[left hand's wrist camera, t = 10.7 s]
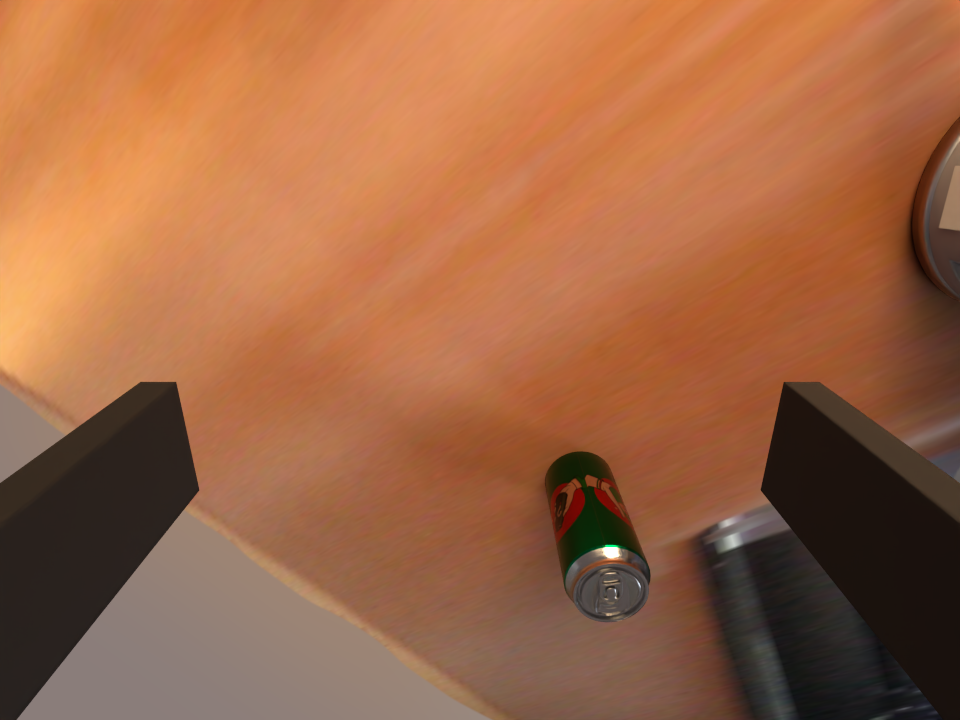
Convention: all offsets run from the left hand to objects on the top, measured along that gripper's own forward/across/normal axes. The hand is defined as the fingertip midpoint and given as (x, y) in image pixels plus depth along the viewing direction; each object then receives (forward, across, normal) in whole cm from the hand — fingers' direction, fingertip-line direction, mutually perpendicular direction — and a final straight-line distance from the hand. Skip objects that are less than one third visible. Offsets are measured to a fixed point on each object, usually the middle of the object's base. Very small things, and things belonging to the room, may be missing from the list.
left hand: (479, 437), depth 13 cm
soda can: (+26, +7, -18) cm, 33 cm away
